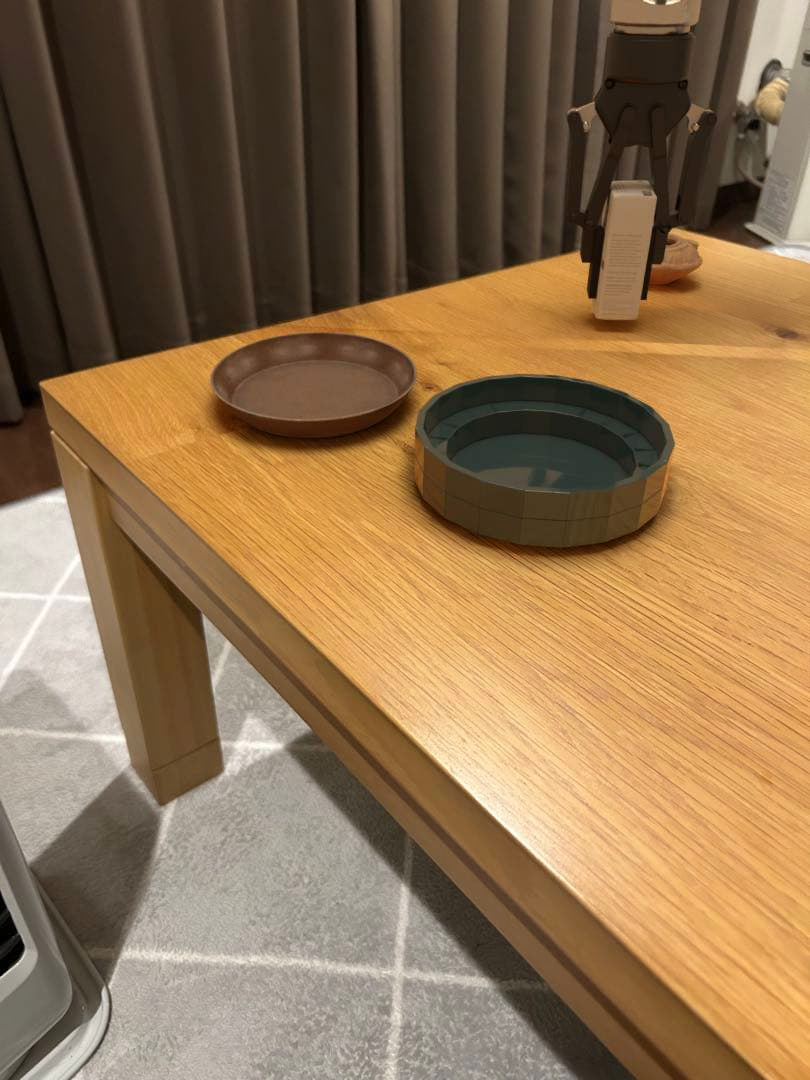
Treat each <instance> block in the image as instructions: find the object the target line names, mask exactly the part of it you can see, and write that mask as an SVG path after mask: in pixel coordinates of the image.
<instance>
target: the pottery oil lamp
mask: <svg viewBox="0 0 810 1080" xmlns="http://www.w3.org/2000/svg"><path fill="white" fill-rule="evenodd" d="M699 245H700V243H699V242H697V241H696V240H694V239H689V238H684V237H681V235H678V234H675V233H672V232H669V233H668V237H667V243H666V249H665V255H664V260H663V262H662V263H661V265H659V264H652V269H651V275H650V282H649V285H659V286H660V285H663V286H664V285H668V284H671V283H672V282H674V281H676V280H679V279H682V278H684V277H685V276H688V275H690V274H691V273H693V272H695V271H697V270H698V269H700V268H701V266H702V265H703V261H704V260H703V257H702V256H701V255H700V253H699V251H698V249H699Z"/></svg>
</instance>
